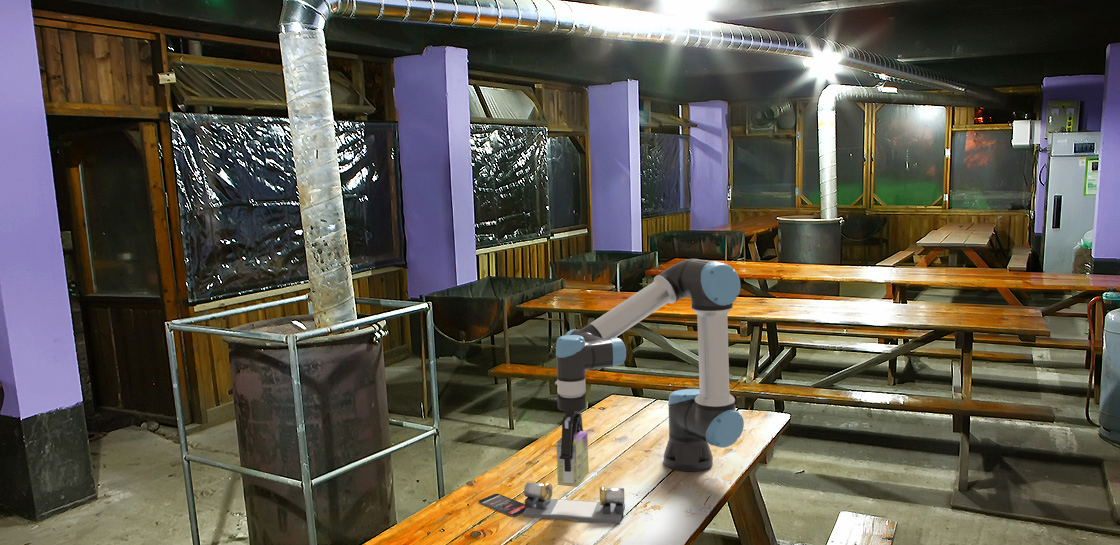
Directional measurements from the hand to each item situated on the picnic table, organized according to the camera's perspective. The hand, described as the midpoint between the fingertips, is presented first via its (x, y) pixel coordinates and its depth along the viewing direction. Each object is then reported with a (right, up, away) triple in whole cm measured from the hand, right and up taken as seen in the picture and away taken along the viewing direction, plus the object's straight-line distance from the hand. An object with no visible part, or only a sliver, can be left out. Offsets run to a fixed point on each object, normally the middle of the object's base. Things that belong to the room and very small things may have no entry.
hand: (573, 473), depth 205 cm
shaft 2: (+10, -11, 0) cm, 15 cm away
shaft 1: (-9, -11, +4) cm, 15 cm away
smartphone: (-19, -11, +7) cm, 23 cm away
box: (0, -2, 0) cm, 2 cm away
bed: (0, -11, +1) cm, 11 cm away
